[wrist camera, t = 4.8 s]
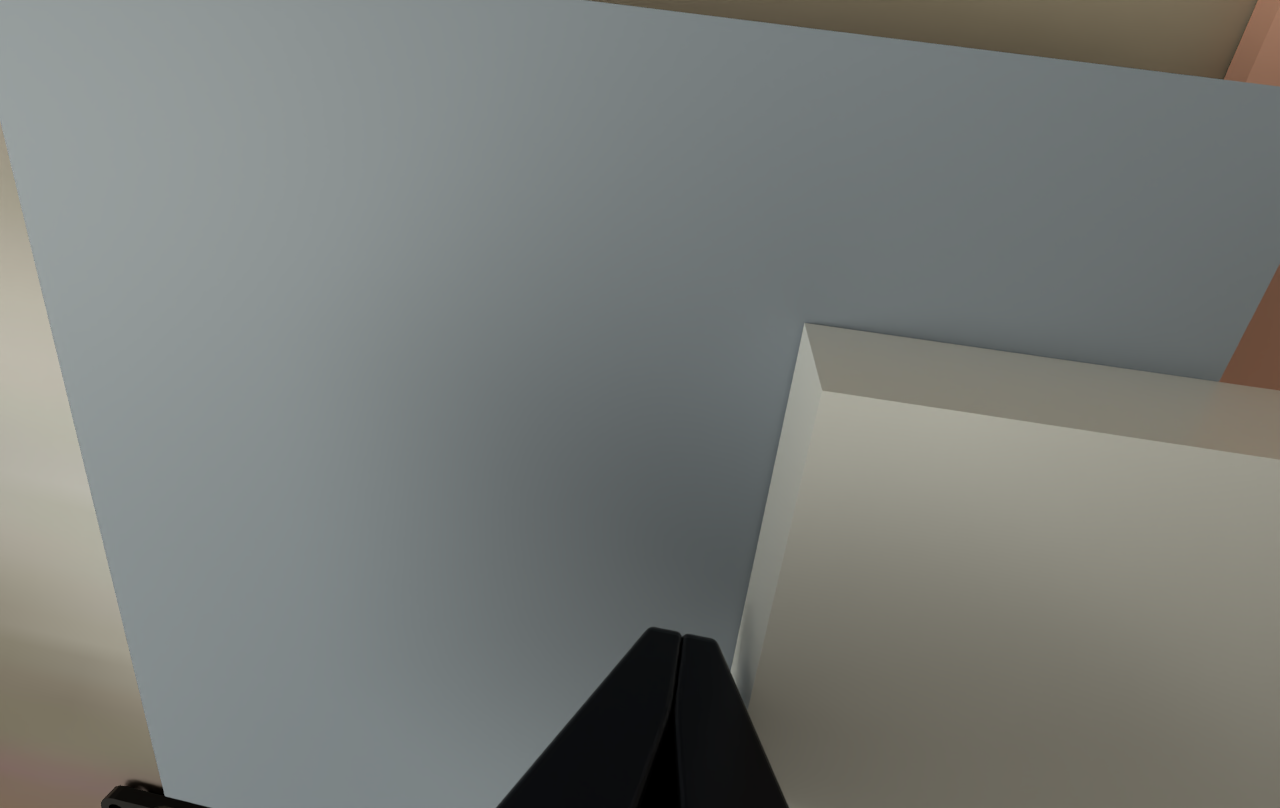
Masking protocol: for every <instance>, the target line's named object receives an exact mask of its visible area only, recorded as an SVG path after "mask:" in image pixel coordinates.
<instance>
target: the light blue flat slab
mask: <svg viewBox="0 0 1280 808" xmlns="http://www.w3.org/2000/svg"><path fill="white" fill-rule="evenodd" d="M0 122H1V126H2V130H3V134H4V138H5V142H6V146H7V150H8V154H9V159H10V163H11V167H12V171H13V175H14V179H15V183H16V187H17V191H18V195H19V200H20V204H21V208H22V212H23V216H24V220H25V224H26V228H27V232H28V236H29V241H30V245H31V249H32V253H33V257H34V261H35V265H36V269H37V273H38V278H39V282H40V286H41V290H42V294H43V298H44V302H45V306H46V310H47V314H48V319H49V323H50V327H51V331H52V335H53V339H54V343H55V347H56V351H57V355H58V360H59V364H60V368H61V372H62V376H63V380H64V384H65V388H66V392H67V396H68V401H69V405H70V409H71V413H72V417H73V421H74V425H75V429H76V433H77V438H78V442H79V446H80V450H81V454H82V458H83V462H84V466H85V470H86V474H87V479H88V483H89V487H90V491H91V495H92V499H93V503H94V507H95V511H96V515H97V520H98V524H99V528H100V532H101V536H102V540H103V544H104V548H105V552H106V557H107V561H108V565H109V569H110V573H111V577H112V581H113V585H114V589H115V593H116V598H117V602H118V606H119V610H120V614H121V618H122V622H123V626H124V630H125V634H126V639H127V643H128V647H129V651H130V655H131V659H132V663H133V667H134V671H135V676H136V680H137V684H138V688H139V692H140V696H141V700H142V704H143V708H144V712H145V717H146V721H147V725H148V729H149V733H150V737H151V741H152V745H153V749H154V753H155V758H156V762H157V766H158V770H159V774H160V778H161V782H162V786H163V790H164V794H165V796H166V797H170V798H174V799H178V800H182V801H186V802H190V803H194V804H198V805H202V806H206V807H210V808H496V807H497V806H498V804H499V803H500V802H501V801H502V800H503V798H504V797H505V796H506V795H507V794H508V793H509V791H510V790H511V789H512V788H513V787H514V785H515V784H516V783H517V782H518V781H519V780H520V778H521V777H522V776H523V775H524V774H525V772H526V771H527V770H528V769H529V768H530V767H531V765H532V764H533V763H534V762H535V761H536V759H537V758H538V757H539V756H540V755H541V753H542V752H543V751H544V750H545V749H546V748H547V746H548V745H549V744H550V743H551V742H552V740H553V739H554V738H555V737H556V736H557V735H558V733H559V732H560V731H561V730H562V729H563V727H564V726H565V725H566V724H567V723H568V722H569V720H570V719H571V718H572V717H573V716H574V714H575V713H576V712H577V711H578V710H579V709H580V707H581V706H582V705H583V704H584V703H585V701H586V700H587V699H588V698H589V697H590V696H591V694H592V693H593V692H594V691H595V690H596V688H597V687H598V686H599V685H600V684H601V683H602V681H603V680H604V679H605V678H606V677H607V675H608V674H609V673H610V672H611V671H612V670H613V668H614V667H615V666H616V665H617V664H618V662H619V661H620V660H621V659H622V658H623V657H624V655H625V654H626V653H627V652H628V651H629V649H630V648H631V647H632V646H633V645H634V644H635V642H636V641H637V640H638V639H639V638H640V636H641V635H642V634H643V633H644V632H645V631H646V630H647V629H648V628H649V627H658V628H663V629H668V630H673V631H678V632H679V633H680V634H681V635H682V637H683V635H685V634H693V635H698V636H703V637H708V638H712V639H714V640H716V641H717V642H718V644H719V646H720V648H721V651H722V653H723V655H724V658H725V660H726V662H727V665H728V667H729V669H730V671H731V666H732V662H733V657H734V652H735V648H736V643H737V638H738V633H739V629H740V624H741V619H742V615H743V610H744V605H745V601H746V596H747V591H748V586H749V582H750V577H751V572H752V568H753V563H754V558H755V553H756V549H757V544H758V539H759V535H760V530H761V525H762V520H763V516H764V511H765V506H766V502H767V497H768V492H769V487H770V483H771V478H772V473H773V469H774V464H775V459H776V454H777V450H778V445H779V440H780V436H781V431H782V426H783V421H784V417H785V412H786V407H787V403H788V398H789V393H790V388H791V384H792V379H793V374H794V370H795V365H796V360H797V356H798V351H799V346H800V341H801V337H802V332H803V327H804V323H809V324H816V325H823V326H830V327H837V328H844V329H851V330H858V331H865V332H872V333H879V334H886V335H893V336H900V337H907V338H914V339H921V340H928V341H935V342H942V343H949V344H956V345H964V346H971V347H978V348H985V349H992V350H999V351H1006V352H1013V353H1020V354H1027V355H1034V356H1041V357H1048V358H1055V359H1062V360H1069V361H1076V362H1083V363H1090V364H1097V365H1104V366H1111V367H1118V368H1125V369H1132V370H1139V371H1146V372H1153V373H1160V374H1167V375H1174V376H1181V377H1188V378H1195V379H1202V380H1209V381H1216V382H1219V381H1220V379H1221V377H1222V375H1223V373H1224V371H1225V369H1226V367H1227V365H1228V363H1229V361H1230V359H1231V357H1232V355H1233V353H1234V352H1235V350H1236V348H1237V346H1238V344H1239V342H1240V340H1241V338H1242V336H1243V334H1244V332H1245V330H1246V328H1247V326H1248V324H1249V322H1250V321H1251V319H1252V317H1253V315H1254V313H1255V311H1256V309H1257V307H1258V305H1259V303H1260V301H1261V299H1262V297H1263V295H1264V293H1265V291H1266V289H1267V288H1268V286H1269V284H1270V282H1271V280H1272V278H1273V276H1274V274H1275V272H1276V270H1277V268H1278V266H1279V264H1280V87H1279V86H1271V85H1263V84H1255V83H1247V82H1239V81H1231V80H1223V79H1215V78H1207V77H1199V76H1190V75H1182V74H1174V73H1166V72H1158V71H1150V70H1142V69H1134V68H1126V67H1118V66H1110V65H1102V64H1094V63H1086V62H1078V61H1070V60H1062V59H1054V58H1046V57H1038V56H1030V55H1022V54H1014V53H1005V52H997V51H989V50H981V49H973V48H965V47H957V46H949V45H941V44H933V43H925V42H917V41H909V40H901V39H893V38H885V37H877V36H869V35H861V34H853V33H845V32H837V31H828V30H820V29H812V28H804V27H796V26H788V25H780V24H772V23H764V22H756V21H748V20H740V19H732V18H724V17H716V16H708V15H700V14H692V13H684V12H676V11H668V10H660V9H652V8H643V7H635V6H627V5H619V4H611V3H603V2H595V1H587V0H0Z"/></svg>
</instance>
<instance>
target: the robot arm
mask: <svg viewBox="0 0 1280 808" xmlns="http://www.w3.org/2000/svg"><path fill="white" fill-rule="evenodd" d="M101 807H102V808H210V807H206V806H202V805H198V804H194V803H190V802H186V801H182V800H178V799H174V798H170V797H166V796H163V795H159V794H155V793H151V792H147V791H143V790H139V789H135V788H131V787H127V786H116V787H115V788H114V789H113V790H112V791H111V792H110V793H109V794H108V795H107V796H106V797H105V798H104V799H103V800H102V802H101ZM496 808H789V806H788V804H787V802H786V799H785V797H784V795H783V792H782V790H781V788H780V785H779V783H778V781H777V778H776V776H775V774H774V771H773V769H772V767H771V764H770V762H769V760H768V757H767V755H766V753H765V751H764V748H763V746H762V744H761V741H760V739H759V737H758V734H757V732H756V730H755V727H754V725H753V723H752V720H751V718H750V716H749V713H748V711H747V709H746V706H745V704H744V702H743V699H742V697H741V695H740V693H739V690H738V688H737V686H736V683H735V681H734V679H733V676H732V674H731V672H730V669H729V667H728V665H727V662H726V660H725V658H724V655H723V653H722V651H721V648H720V646H719V644H718V642H717V641H716V640H714V639H712V638H708V637H703V636H698V635H693V634H685V635H683V637H682V635H681V634H680V633H679V632H678V631H673V630H668V629H663V628H658V627H649V628H648V629H647V630H646V631H645V632H644V633H643V634H642V635H641V636H640V638H639V639H638V640H637V641H636V642H635V644H634V645H633V646H632V647H631V648H630V649H629V651H628V652H627V653H626V654H625V655H624V657H623V658H622V659H621V660H620V661H619V662H618V664H617V665H616V666H615V667H614V668H613V670H612V671H611V672H610V673H609V674H608V675H607V677H606V678H605V679H604V680H603V681H602V683H601V684H600V685H599V686H598V687H597V688H596V690H595V691H594V692H593V693H592V694H591V696H590V697H589V698H588V699H587V700H586V701H585V703H584V704H583V705H582V706H581V707H580V709H579V710H578V711H577V712H576V713H575V714H574V716H573V717H572V718H571V719H570V720H569V722H568V723H567V724H566V725H565V726H564V727H563V729H562V730H561V731H560V732H559V733H558V735H557V736H556V737H555V738H554V739H553V740H552V742H551V743H550V744H549V745H548V746H547V748H546V749H545V750H544V751H543V752H542V753H541V755H540V756H539V757H538V758H537V759H536V761H535V762H534V763H533V764H532V765H531V767H530V768H529V769H528V770H527V771H526V772H525V774H524V775H523V776H522V777H521V778H520V780H519V781H518V782H517V783H516V784H515V785H514V787H513V788H512V789H511V790H510V791H509V793H508V794H507V795H506V796H505V797H504V798H503V800H502V801H501V802H500V803H499V804H498V806H497V807H496Z"/></svg>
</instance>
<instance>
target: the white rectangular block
mask: <svg viewBox="0 0 1280 808" xmlns="http://www.w3.org/2000/svg"><path fill="white" fill-rule="evenodd" d="M730 672H731V674H732V676H733V679H734V681H735V683H736V686H737V688H738V690H739V693H740V695H741V697H742V699H743V702H744V704H745V706H746V709H747V711H748V713H749V716H750V718H751V720H752V723H753V725H754V727H755V730H756V732H757V734H758V737H759V739H760V741H761V744H762V746H763V748H764V751H765V753H766V755H767V757H768V760H769V762H770V764H771V767H772V769H773V771H774V774H775V776H776V778H777V781H778V783H779V785H780V788H781V790H782V792H783V795H784V797H785V799H786V802H787V804H788V806H789V808H1280V391H1279V390H1272V389H1265V388H1258V387H1251V386H1244V385H1237V384H1230V383H1223V382H1216V381H1209V380H1202V379H1195V378H1188V377H1181V376H1174V375H1167V374H1160V373H1153V372H1146V371H1139V370H1132V369H1125V368H1118V367H1111V366H1104V365H1097V364H1090V363H1083V362H1076V361H1069V360H1062V359H1055V358H1048V357H1041V356H1034V355H1027V354H1020V353H1013V352H1006V351H999V350H992V349H985V348H978V347H971V346H964V345H956V344H949V343H942V342H935V341H928V340H921V339H914V338H907V337H900V336H893V335H886V334H879V333H872V332H865V331H858V330H851V329H844V328H837V327H830V326H823V325H816V324H809V323H804V327H803V332H802V337H801V341H800V346H799V351H798V356H797V360H796V365H795V370H794V374H793V379H792V384H791V388H790V393H789V398H788V403H787V407H786V412H785V417H784V421H783V426H782V431H781V436H780V440H779V445H778V450H777V454H776V459H775V464H774V469H773V473H772V478H771V483H770V487H769V492H768V497H767V502H766V506H765V511H764V516H763V520H762V525H761V530H760V535H759V539H758V544H757V549H756V553H755V558H754V563H753V568H752V572H751V577H750V582H749V586H748V591H747V596H746V601H745V605H744V610H743V615H742V619H741V624H740V629H739V633H738V638H737V643H736V648H735V652H734V657H733V662H732V666H731V671H730Z"/></svg>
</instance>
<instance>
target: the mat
mask: <svg viewBox="0 0 1280 808" xmlns="http://www.w3.org/2000/svg"><path fill="white" fill-rule="evenodd" d="M1224 80H1231V81H1239V82H1247V83H1255V84H1263V85H1271V86H1279V87H1280V0H1258V1H1257V4H1256V6H1255V8H1254V11H1253V13H1252V15H1251V18H1250V20H1249V22H1248V24H1247V27H1246V29H1245V31H1244V34H1243V36H1242V38H1241V41H1240V43H1239V45H1238V48H1237V50H1236V52H1235V54H1234V57H1233V59H1232V61H1231V64H1230V66H1229V68H1228V71H1227V73H1226V75H1225V78H1224ZM1219 382H1223V383H1230V384H1237V385H1244V386H1251V387H1258V388H1265V389H1272V390H1279V391H1280V264H1279V266H1278V268H1277V270H1276V272H1275V274H1274V276H1273V278H1272V280H1271V282H1270V284H1269V286H1268V288H1267V289H1266V291H1265V293H1264V295H1263V297H1262V299H1261V301H1260V303H1259V305H1258V307H1257V309H1256V311H1255V313H1254V315H1253V317H1252V319H1251V321H1250V322H1249V324H1248V326H1247V328H1246V330H1245V332H1244V334H1243V336H1242V338H1241V340H1240V342H1239V344H1238V346H1237V348H1236V350H1235V352H1234V353H1233V355H1232V357H1231V359H1230V361H1229V363H1228V365H1227V367H1226V369H1225V371H1224V373H1223V375H1222V377H1221V379H1220V381H1219Z"/></svg>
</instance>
